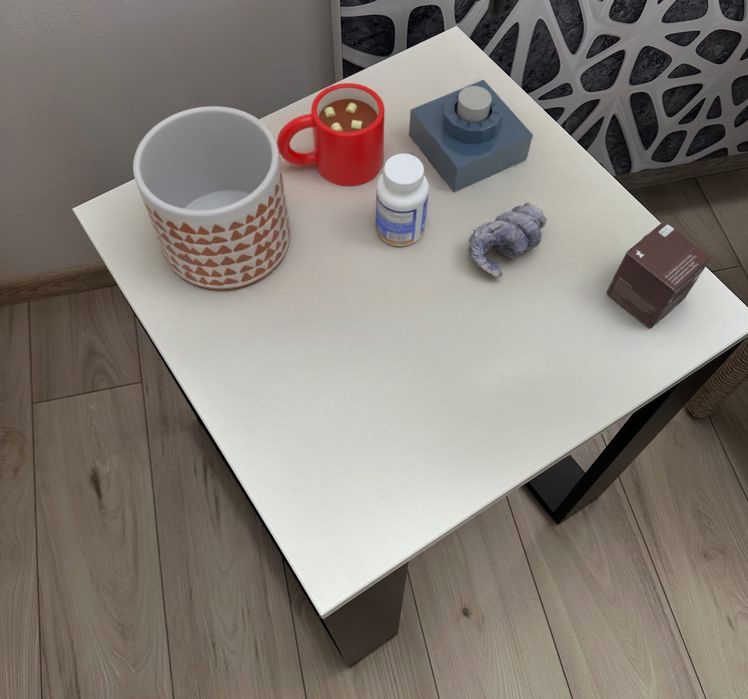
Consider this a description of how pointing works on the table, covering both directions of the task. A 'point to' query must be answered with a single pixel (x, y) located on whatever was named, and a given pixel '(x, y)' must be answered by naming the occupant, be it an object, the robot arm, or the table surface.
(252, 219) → the planter
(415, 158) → the pill bottle
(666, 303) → the box
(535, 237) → the seashell
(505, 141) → the button housing
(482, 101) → the grey short cylinder
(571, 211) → the table surface
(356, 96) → the mug
